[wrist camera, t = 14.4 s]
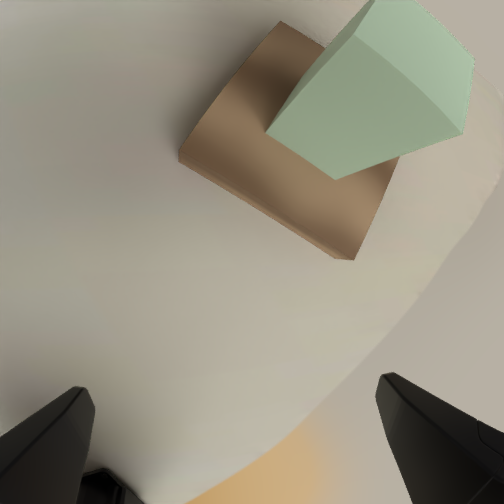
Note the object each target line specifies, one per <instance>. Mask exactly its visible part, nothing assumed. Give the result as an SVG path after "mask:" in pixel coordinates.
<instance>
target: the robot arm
mask: <svg viewBox="0 0 504 504" xmlns="http://www.w3.org/2000/svg"><path fill="white" fill-rule="evenodd" d="M375 397H376V402H377V406H378V409H379V413H380V416H381V419H382V423H383V427H384V430H385V434H386V437H387V440H388V443H389V445H390V448H391V450H392V453H393V455H394V458H395V460H396V462H397V465H398V467H399V470H400V472H401V475H402V477H403V480H404V483H405V485H406V488H407V490H408V493H409V495H410V498H411V501H412V503H413V504H504V433H503V432H501V431H499V430H496V429H495V428H493V427H491V426H489V425H487V424H485V423H483V422H481V421H479V420H477V419H476V418H474V417H472V416H470V415H468V414H466V413H465V412H463V411H461V410H459V409H457V408H456V407H454V406H452V405H450V404H449V403H447V402H445V401H443V400H441V399H439V398H438V397H436V396H434V395H432V394H431V393H429V392H427V391H426V390H424V389H422V388H420V387H418V386H417V385H415V384H413V383H411V382H410V381H408V380H406V379H405V378H403V377H401V376H400V375H398V374H396V373H394V372H391V373H386V374H382V375H381V376H380V379H379V383H378V387H377V390H376V396H375ZM94 416H95V406H94V404H93V401H92V399H91V397H90V395H89V392H88V390H87V389H86V388H84V387H78V386H74V387H72V388H71V389H69V390H68V391H66V392H65V393H63V394H62V395H61V396H59V397H58V398H56V399H55V400H53V401H52V402H50V403H49V404H47V405H46V406H45V407H43V408H42V409H40V410H39V411H37V412H36V413H34V414H33V415H32V416H30V417H29V418H27V419H26V420H24V421H23V422H21V423H20V424H18V425H17V426H16V427H14V428H13V429H11V430H10V431H8V432H7V433H5V434H4V435H2V436H1V437H0V504H143V503H142V502H141V501H140V500H139V499H138V498H137V497H136V496H135V495H134V494H133V493H132V492H130V491H129V490H128V489H127V488H126V487H125V486H124V485H123V484H122V483H121V482H120V481H119V480H118V479H117V478H116V477H115V476H114V475H113V474H112V473H111V472H110V471H109V470H107V469H104V468H103V469H99V470H95V471H92V472H88V473H85V474H83V470H84V466H85V462H86V459H87V455H88V451H89V445H90V439H91V433H92V427H93V421H94ZM104 474H106V475H104Z"/></svg>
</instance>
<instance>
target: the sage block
mask: <svg viewBox="0 0 504 504" xmlns="http://www.w3.org/2000/svg"><path fill="white" fill-rule="evenodd" d="M474 61H475V59H474V57H473V56H472V55H471V54H470V53H469V52H468V51H467V50H466V49H465V47H464V46H463V45H462V44H461V43H460V42H459V41H458V40H457V39H456V38H455V37H454V36H453V35H452V34H451V33H450V32H449V31H448V30H447V29H446V28H445V27H444V26H443V25H442V24H441V23H440V22H439V21H438V20H436V18H434V17H433V16H432V15H431V14H430V13H429V12H428V11H427V10H426V9H424V8H423V7H422V6H421V5H419V3H417V2H416V1H415V0H369V1H368V2H367V3H366V4H365V5H364V6H363V8H362V9H361V10H360V11H359V12H358V13H357V14H356V15H355V16H354V17H353V18H352V19H351V21H350V22H349V23H348V24H347V25H346V26H345V27H344V28H343V29H342V31H341V32H340V33H339V34H338V35H337V36H336V37H335V39H334V40H333V41H332V42H331V43H330V44H329V45H328V47H327V48H326V49H325V50H324V51H323V52H322V54H321V55H320V56H319V57H318V58H317V59H316V61H315V62H314V63H313V64H312V65H311V67H310V68H309V69H308V70H307V71H306V73H305V74H304V75H303V76H302V78H301V79H300V81H299V82H298V84H297V85H296V86H295V88H294V89H293V91H292V92H291V94H290V95H289V97H288V98H287V100H286V102H285V103H284V105H283V106H282V108H281V109H280V111H279V112H278V114H277V115H276V117H275V118H274V120H273V121H272V123H271V125H270V126H269V128H268V129H267V131H266V132H265V133H266V134H268V135H269V136H271V137H272V138H274V139H275V140H277V141H279V142H280V143H282V144H283V145H285V146H286V147H288V148H289V149H291V150H292V151H294V152H295V153H297V154H298V155H300V156H301V157H303V158H304V159H306V160H307V161H309V162H310V163H311V164H313V165H314V166H316V167H317V168H319V169H320V170H321V171H323V172H324V173H326V174H327V175H328V176H330V177H331V178H333V179H334V180H337V179H339V178H342V177H345V176H347V175H350V174H352V173H355V172H358V171H360V170H363V169H366V168H368V167H371V166H374V165H376V164H379V163H382V162H385V161H387V160H390V159H393V158H396V157H398V156H401V155H404V154H407V153H410V152H412V151H415V150H418V149H421V148H424V147H426V146H429V145H432V144H435V143H438V142H441V141H444V140H447V139H450V138H453V137H456V136H459V135H461V134H463V130H464V125H465V120H466V115H467V110H468V104H469V98H470V92H471V85H472V78H473V70H474Z"/></svg>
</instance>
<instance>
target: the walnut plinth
mask: <svg viewBox="0 0 504 504" xmlns="http://www.w3.org/2000/svg"><path fill="white" fill-rule="evenodd" d="M324 50H325V48H323V47H322V46H321V45H319V44H317V43H316V42H314V41H313V40H311V39H310V38H308V37H307V36H305V35H303V34H302V33H300V32H298V31H297V30H295V29H294V28H292V27H290V26H288V25H287V24H285V23H283V22H282V21H280V22H279V23H278V24H277V25H276V26H275V27H274V29H273V30H272V31H271V32H270V33H269V34H268V35H267V36H266V37H265V39H264V40H263V41H262V42H261V43H260V44H259V46H258V47H257V48H256V49H255V50H254V51H253V53H252V54H251V55H250V56H249V57H248V59H247V60H246V61H245V62H244V63H243V65H242V66H241V67H240V68H239V69H238V71H237V72H236V73H235V74H234V76H233V77H232V78H231V79H230V81H229V82H228V83H227V85H226V86H225V87H224V88H223V90H222V91H221V92H220V94H219V95H218V96H217V98H216V99H215V100H214V102H213V103H212V104H211V106H210V107H209V108H208V110H207V111H206V112H205V114H204V115H203V116H202V118H201V119H200V121H199V122H198V123H197V125H196V126H195V128H194V129H193V130H192V132H191V133H190V135H189V136H188V138H187V139H186V141H185V142H184V143H183V145H182V146H181V148H180V149H179V162H180V163H182V164H183V165H185V166H187V167H189V168H190V169H192V170H194V171H195V172H197V173H199V174H200V175H202V176H204V177H205V178H207V179H209V180H210V181H212V182H214V183H216V184H217V185H219V186H220V187H222V188H224V189H225V190H227V191H229V192H230V193H232V194H234V195H235V196H237V197H239V198H240V199H242V200H244V201H245V202H247V203H248V204H250V205H252V206H253V207H255V208H256V209H258V210H260V211H261V212H263V213H265V214H266V215H268V216H269V217H271V218H273V219H274V220H276V221H277V222H279V223H280V224H282V225H284V226H285V227H287V228H288V229H290V230H291V231H293V232H295V233H296V234H298V235H299V236H301V237H302V238H304V239H306V240H307V241H309V242H310V243H312V244H313V245H315V246H316V247H318V248H319V249H321V250H323V251H324V252H326V253H327V254H329V255H330V256H332V257H333V258H335V259H345V260H354V259H355V257H356V255H357V253H358V251H359V249H360V246H361V244H362V242H363V240H364V238H365V236H366V234H367V232H368V229H369V227H370V225H371V223H372V221H373V218H374V216H375V214H376V212H377V210H378V207H379V205H380V203H381V200H382V198H383V196H384V193H385V191H386V189H387V186H388V184H389V182H390V179H391V177H392V174H393V172H394V169H395V167H396V164H397V162H398V159H399V157H400V156H398V157H396V158H393V159H390V160H387V161H385V162H382V163H379V164H376V165H374V166H371V167H368V168H366V169H363V170H360V171H358V172H355V173H352V174H350V175H347V176H345V177H342V178H339V179H337V180H334V179H333V178H331V177H330V176H328V175H327V174H326V173H324V172H323V171H321V170H320V169H319V168H317V167H316V166H314V165H313V164H311V163H310V162H309V161H307V160H306V159H304V158H303V157H301V156H300V155H298V154H297V153H295V152H294V151H292V150H291V149H289V148H288V147H286V146H285V145H283V144H282V143H280V142H279V141H277V140H275V139H274V138H272V137H271V136H269V135H268V134H266V133H265V132H266V131H267V129H268V128H269V126H270V125H271V123H272V121H273V120H274V118H275V117H276V115H277V114H278V112H279V111H280V109H281V108H282V106H283V105H284V103H285V102H286V100H287V98H288V97H289V95H290V94H291V92H292V91H293V89H294V88H295V86H296V85H297V84H298V82H299V81H300V79H301V78H302V76H303V75H304V74H305V73H306V71H307V70H308V69H309V68H310V67H311V65H312V64H313V63H314V62H315V61H316V59H317V58H318V57H319V56H320V55H321V54H322V52H323V51H324Z"/></svg>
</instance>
